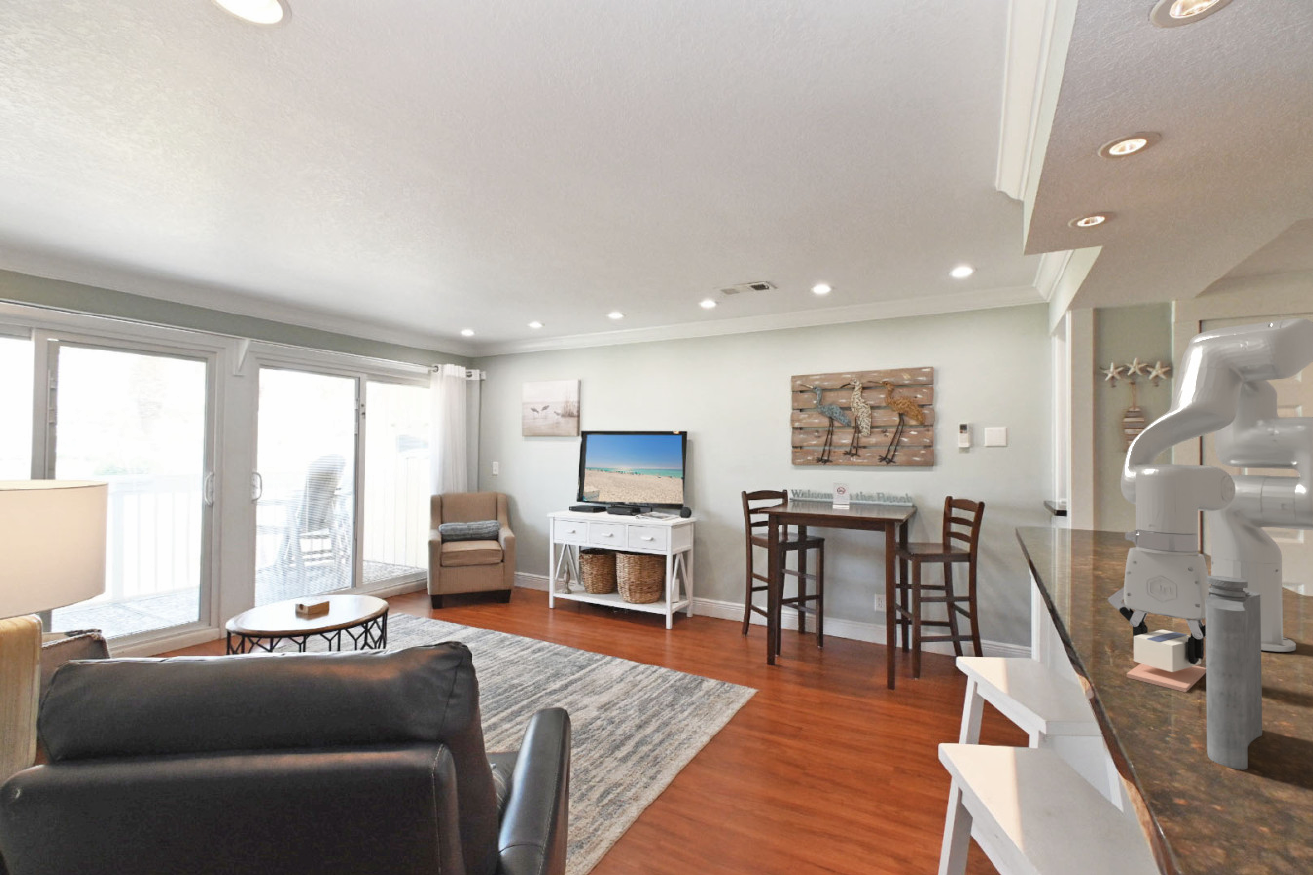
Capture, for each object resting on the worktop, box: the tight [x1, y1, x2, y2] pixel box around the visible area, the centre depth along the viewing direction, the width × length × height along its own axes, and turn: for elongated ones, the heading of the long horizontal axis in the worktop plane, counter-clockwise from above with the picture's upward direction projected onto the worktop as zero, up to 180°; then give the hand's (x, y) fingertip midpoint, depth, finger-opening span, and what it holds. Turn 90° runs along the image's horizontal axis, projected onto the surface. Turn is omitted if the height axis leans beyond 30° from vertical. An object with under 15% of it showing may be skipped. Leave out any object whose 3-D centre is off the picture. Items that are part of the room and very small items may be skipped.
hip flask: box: [1205, 575, 1263, 771], centre depth 70 cm, size 16×4×20 cm, turn 129°
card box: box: [1133, 629, 1202, 672], centre depth 92 cm, size 5×9×4 cm, turn 116°
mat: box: [1126, 663, 1206, 693], centre depth 92 cm, size 14×7×1 cm, turn 127°
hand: (1167, 655), depth 92 cm, fingers closed on card box, 5 cm apart
